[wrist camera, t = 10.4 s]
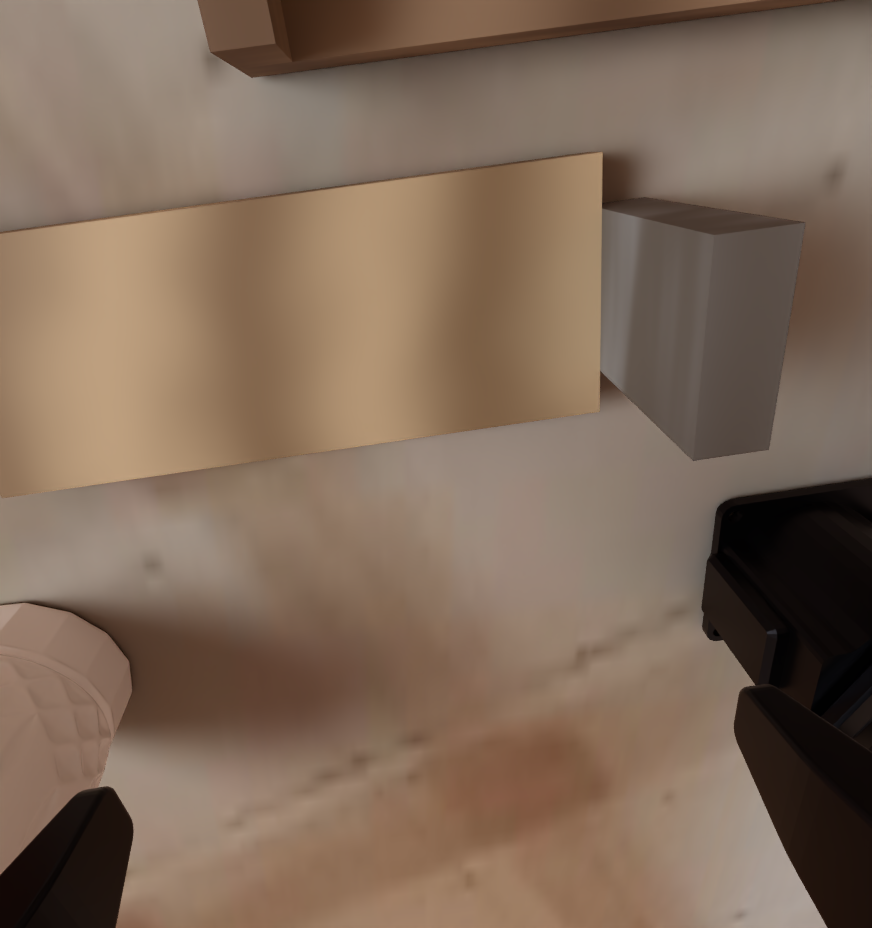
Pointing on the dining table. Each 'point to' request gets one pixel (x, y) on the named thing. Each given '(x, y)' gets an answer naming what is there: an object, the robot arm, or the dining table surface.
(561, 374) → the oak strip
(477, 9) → the wooden tray
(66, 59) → the dining table surface
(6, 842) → the white cup
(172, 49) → the dining table surface
